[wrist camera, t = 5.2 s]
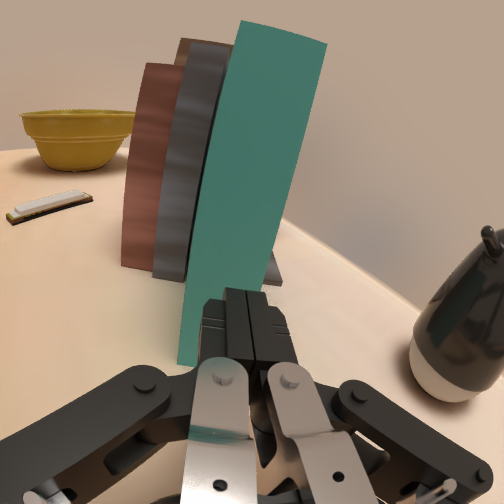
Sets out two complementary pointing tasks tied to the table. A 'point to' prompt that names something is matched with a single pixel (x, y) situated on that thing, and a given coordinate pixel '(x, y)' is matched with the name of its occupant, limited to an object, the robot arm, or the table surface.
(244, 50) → the teal book
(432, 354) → the black rounded cone
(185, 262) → the book rack
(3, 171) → the table surface
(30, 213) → the harmonica
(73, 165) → the planter bowl
